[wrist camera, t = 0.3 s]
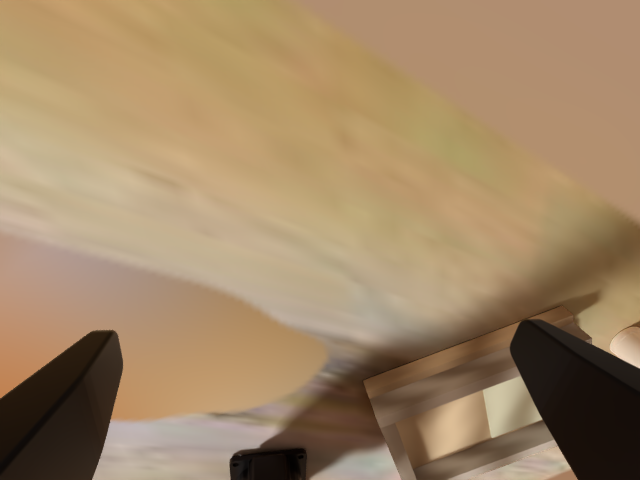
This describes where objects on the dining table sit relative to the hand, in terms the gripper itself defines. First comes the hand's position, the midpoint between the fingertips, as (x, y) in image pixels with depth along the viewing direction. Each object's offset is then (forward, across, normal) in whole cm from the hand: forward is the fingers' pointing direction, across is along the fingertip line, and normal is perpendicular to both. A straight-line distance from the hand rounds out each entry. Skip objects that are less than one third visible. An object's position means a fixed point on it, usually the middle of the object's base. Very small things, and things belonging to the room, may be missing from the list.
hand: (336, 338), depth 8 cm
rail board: (+14, -18, +20) cm, 31 cm away
